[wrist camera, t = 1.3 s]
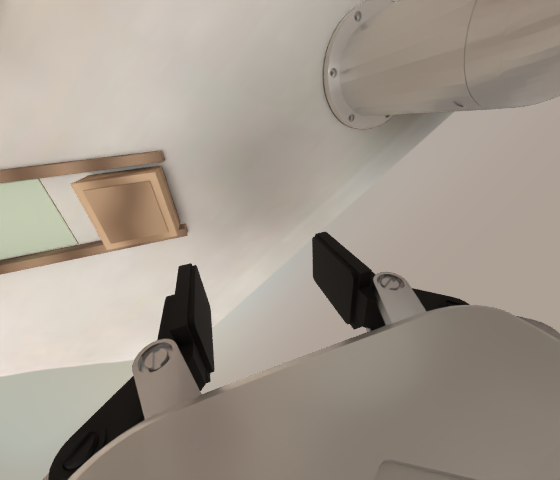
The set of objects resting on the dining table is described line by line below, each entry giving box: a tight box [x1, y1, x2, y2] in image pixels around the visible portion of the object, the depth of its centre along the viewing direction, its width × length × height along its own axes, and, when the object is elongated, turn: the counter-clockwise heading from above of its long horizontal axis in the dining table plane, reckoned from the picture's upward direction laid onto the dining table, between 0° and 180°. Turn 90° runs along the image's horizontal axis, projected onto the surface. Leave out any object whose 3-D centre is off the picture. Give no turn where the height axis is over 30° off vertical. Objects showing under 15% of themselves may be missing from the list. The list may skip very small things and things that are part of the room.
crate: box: [71, 166, 180, 250], centre depth 24 cm, size 7×7×4 cm
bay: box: [0, 151, 188, 274], centre depth 23 cm, size 23×10×2 cm, turn 95°
